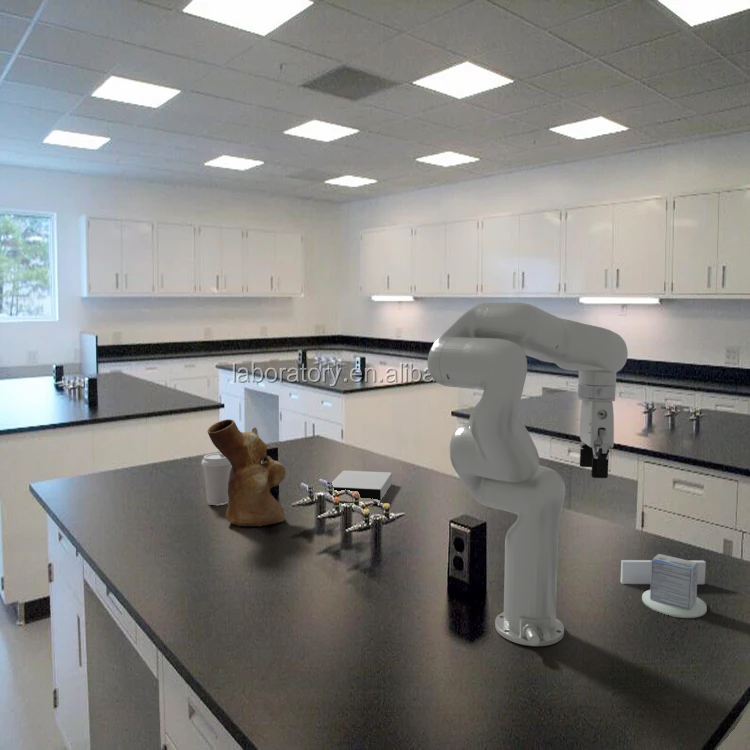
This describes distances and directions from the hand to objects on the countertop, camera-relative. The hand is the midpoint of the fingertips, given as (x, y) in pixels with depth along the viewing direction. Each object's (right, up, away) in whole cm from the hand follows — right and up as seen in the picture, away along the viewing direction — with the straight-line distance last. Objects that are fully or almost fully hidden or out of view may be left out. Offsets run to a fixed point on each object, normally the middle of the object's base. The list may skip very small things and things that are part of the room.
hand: (593, 472), depth 137 cm
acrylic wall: (+16, -25, +4) cm, 30 cm away
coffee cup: (-96, -19, +62) cm, 116 cm away
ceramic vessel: (-83, -21, +44) cm, 96 cm away
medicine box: (+14, -26, -7) cm, 30 cm away
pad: (+14, -26, -6) cm, 30 cm away
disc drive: (-52, -19, +73) cm, 92 cm away
